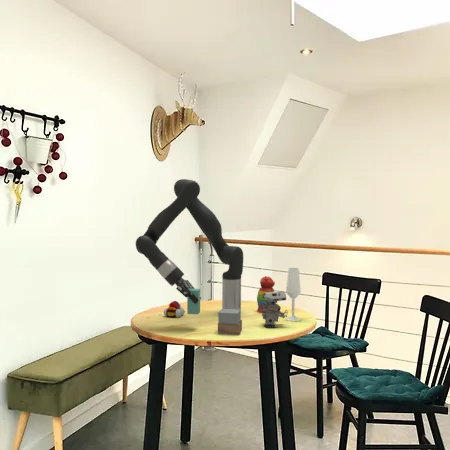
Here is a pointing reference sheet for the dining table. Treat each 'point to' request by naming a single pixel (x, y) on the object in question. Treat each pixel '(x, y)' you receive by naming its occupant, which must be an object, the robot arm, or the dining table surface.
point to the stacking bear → (265, 288)
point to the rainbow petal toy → (174, 310)
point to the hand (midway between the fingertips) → (198, 301)
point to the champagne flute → (293, 289)
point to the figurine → (273, 308)
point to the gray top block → (229, 316)
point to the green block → (191, 306)
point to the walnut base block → (230, 328)
